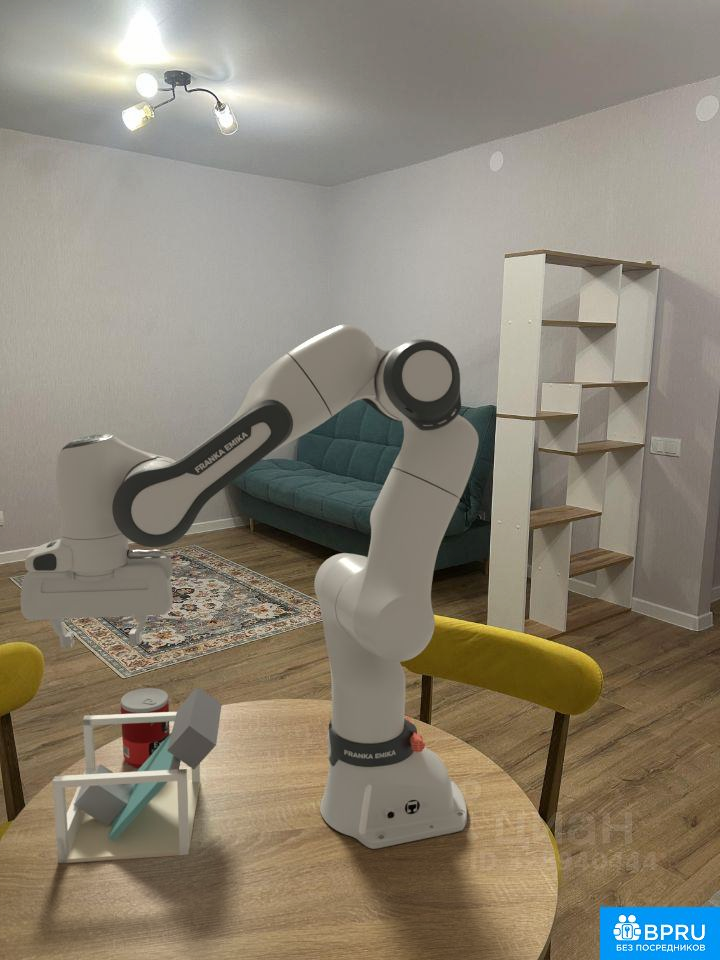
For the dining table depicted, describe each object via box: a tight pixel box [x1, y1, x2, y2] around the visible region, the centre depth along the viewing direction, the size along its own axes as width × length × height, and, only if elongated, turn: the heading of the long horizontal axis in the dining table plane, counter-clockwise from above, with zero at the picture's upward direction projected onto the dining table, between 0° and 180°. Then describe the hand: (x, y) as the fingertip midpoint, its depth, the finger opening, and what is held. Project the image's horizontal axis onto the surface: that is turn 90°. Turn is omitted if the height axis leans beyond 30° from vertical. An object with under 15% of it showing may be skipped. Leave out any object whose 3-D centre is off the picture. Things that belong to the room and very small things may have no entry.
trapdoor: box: [108, 686, 222, 842], centre depth 109 cm, size 20×14×5 cm
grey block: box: [74, 763, 133, 827], centre depth 109 cm, size 5×5×6 cm
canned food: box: [120, 687, 171, 769], centre depth 126 cm, size 8×8×11 cm
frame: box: [51, 711, 201, 864], centre depth 109 cm, size 18×18×12 cm
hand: (101, 644), depth 105 cm, fingers open, 8 cm apart
